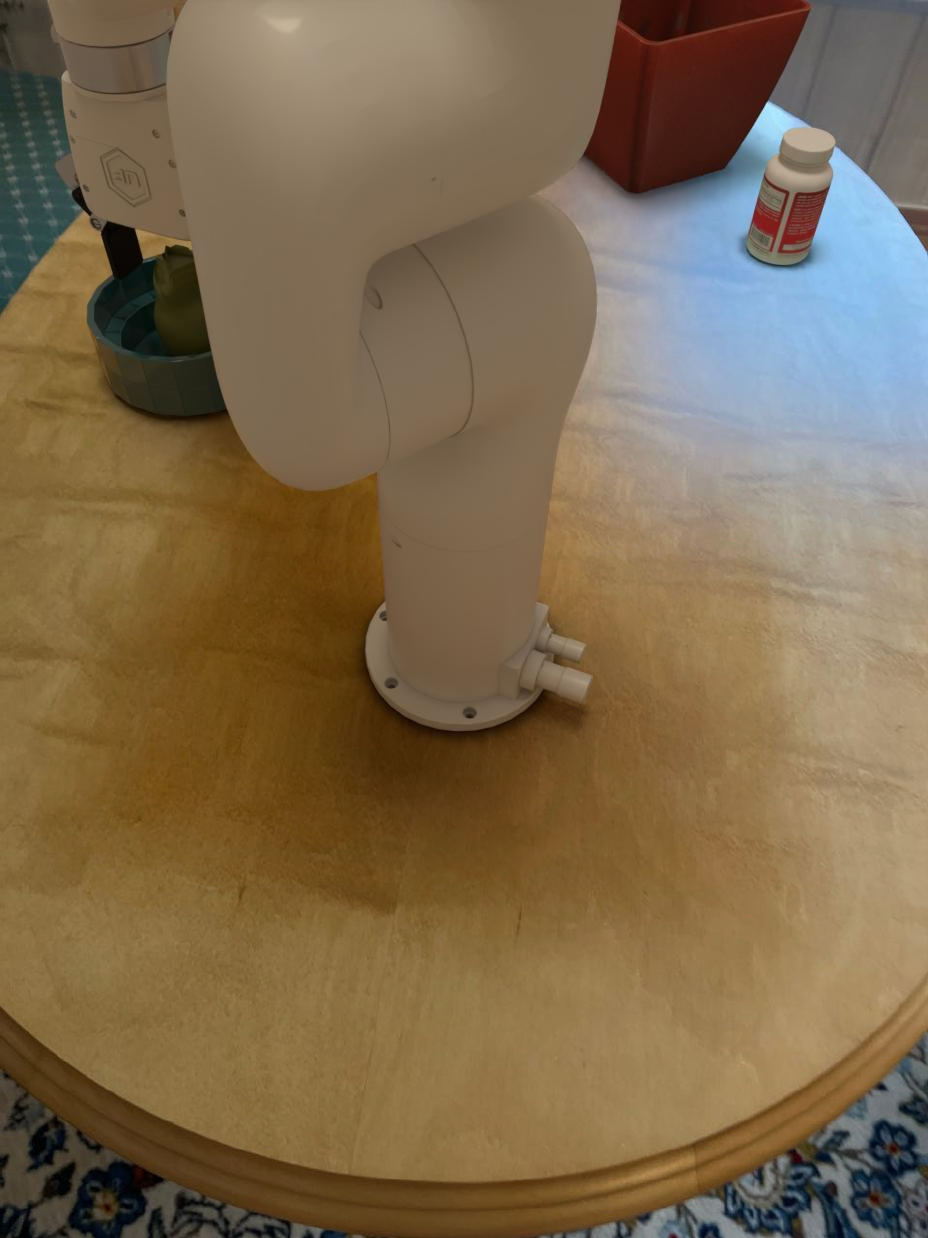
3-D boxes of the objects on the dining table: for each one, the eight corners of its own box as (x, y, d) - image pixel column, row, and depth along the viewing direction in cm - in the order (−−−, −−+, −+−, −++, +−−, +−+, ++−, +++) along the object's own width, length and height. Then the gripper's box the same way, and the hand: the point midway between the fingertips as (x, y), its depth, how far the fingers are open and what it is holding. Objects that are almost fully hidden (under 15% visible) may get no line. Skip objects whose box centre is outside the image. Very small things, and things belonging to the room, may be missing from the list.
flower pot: (621, 220, 99) (649, 42, 86) (528, 137, 109) (540, -34, 96) (770, 178, 105) (818, 5, 91) (668, 103, 115) (698, -63, 102)
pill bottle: (813, 241, 97) (850, 130, 89) (800, 273, 94) (838, 161, 85) (752, 227, 99) (782, 116, 90) (737, 257, 95) (768, 145, 87)
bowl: (317, 336, 86) (310, 276, 82) (226, 442, 78) (212, 381, 73) (172, 293, 90) (157, 234, 85) (69, 390, 81) (46, 329, 77)
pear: (207, 330, 86) (184, 224, 78) (244, 357, 84) (224, 251, 76) (154, 357, 83) (124, 251, 75) (191, 386, 81) (164, 280, 73)
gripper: (-20, 52, 64) (61, 284, 77) (204, 102, 60) (249, 337, 73) (53, 11, 68) (118, 237, 82) (266, 55, 64) (298, 286, 78)
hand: (180, 284), depth 78 cm, fingers open, 9 cm apart
